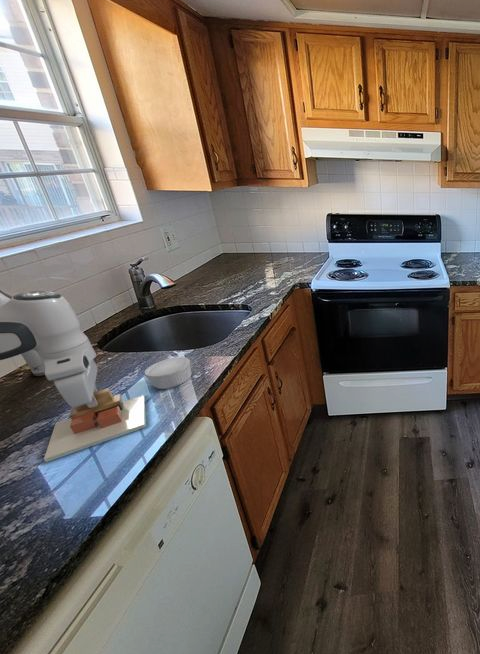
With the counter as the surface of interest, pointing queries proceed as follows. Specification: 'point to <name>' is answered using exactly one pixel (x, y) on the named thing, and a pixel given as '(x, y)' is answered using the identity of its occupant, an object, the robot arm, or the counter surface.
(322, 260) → the counter surface
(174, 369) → the ramekin
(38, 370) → the travel mug
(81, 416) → the reddish brown block
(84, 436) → the tile
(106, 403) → the brush
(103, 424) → the terracotta brick
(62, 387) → the robot arm
